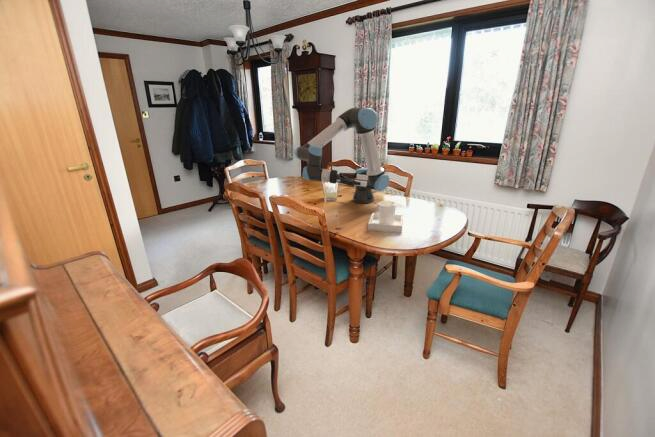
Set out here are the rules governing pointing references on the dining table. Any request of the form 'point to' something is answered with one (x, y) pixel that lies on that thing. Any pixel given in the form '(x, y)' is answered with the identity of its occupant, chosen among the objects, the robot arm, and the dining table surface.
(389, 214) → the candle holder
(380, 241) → the dining table surface
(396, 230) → the crate
